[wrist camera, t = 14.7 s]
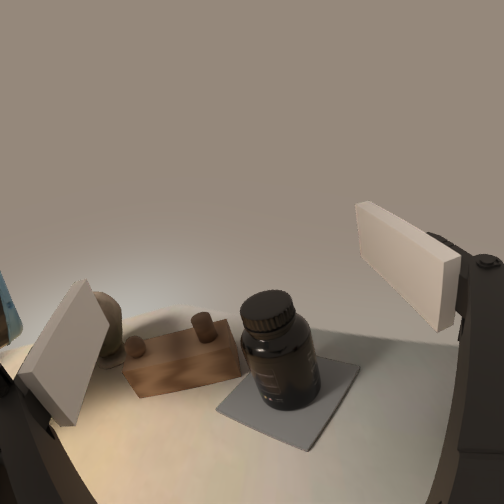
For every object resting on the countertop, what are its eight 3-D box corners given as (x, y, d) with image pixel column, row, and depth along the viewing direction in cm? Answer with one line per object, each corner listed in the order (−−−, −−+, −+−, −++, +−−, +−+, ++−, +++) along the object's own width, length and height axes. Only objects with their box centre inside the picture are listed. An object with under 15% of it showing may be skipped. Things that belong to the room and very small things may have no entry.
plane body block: (139, 398, 37) (110, 353, 34) (144, 369, 43) (120, 325, 40) (241, 376, 38) (221, 326, 35) (236, 347, 43) (219, 299, 40)
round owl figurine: (78, 373, 45) (121, 378, 42) (40, 314, 41) (80, 312, 37) (107, 337, 54) (149, 336, 51) (76, 281, 49) (118, 274, 46)
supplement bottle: (288, 361, 38) (265, 277, 33) (333, 381, 33) (319, 291, 28) (248, 397, 34) (214, 313, 29) (293, 424, 29) (267, 336, 24)
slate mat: (216, 411, 33) (215, 408, 33) (275, 347, 41) (274, 345, 41) (307, 451, 26) (307, 450, 26) (360, 368, 34) (360, 366, 34)
